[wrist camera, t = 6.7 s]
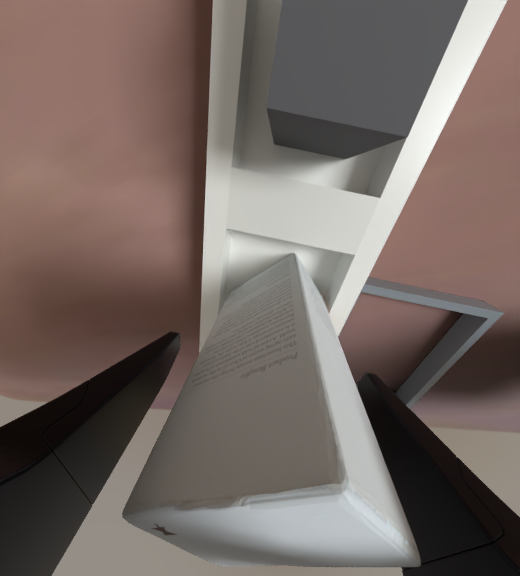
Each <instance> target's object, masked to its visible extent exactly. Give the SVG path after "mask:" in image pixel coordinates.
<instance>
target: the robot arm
mask: <svg viewBox="0 0 520 576" xmlns="http://www.w3.org/2000/svg"><path fill="white" fill-rule="evenodd" d="M179 349H180V334H179V333H176V332H169V333H167V334H166V335H164V336H162V337H161V338H159V339H157V340H156V341H154V342H152V343H150V344H149V345H147V346H145V347H144V348H142V349H140V350H139V351H137V352H135V353H133V354H132V355H130V356H128V357H127V358H125V359H123V360H122V361H120V362H118V363H116V364H115V365H113V366H111V367H110V368H108V369H106V370H105V371H103V372H101V373H99V374H98V375H96V376H94V377H93V378H91V379H90V381H89V380H87V381H86V382H84V383H82V384H81V385H79V386H77V387H75V388H74V389H72V390H70V391H68V392H67V393H65V394H63V395H61V396H60V397H58V398H56V399H54V400H52V401H50V402H48V403H46V404H45V405H43V406H41V407H39V408H37V409H35V410H33V411H31V412H29V413H27V414H25V415H23V416H21V417H19V418H17V419H15V420H13V421H11V422H9V423H8V424H6V425H4V426H2V427H0V576H52V574H53V572H54V570H55V569H56V567H57V565H58V564H59V562H60V560H61V558H62V557H63V555H64V553H65V552H66V550H67V548H68V546H69V545H70V543H71V541H72V540H73V538H74V536H75V535H76V533H77V531H78V529H79V528H80V526H81V524H82V522H83V521H84V519H85V517H86V516H87V514H88V512H89V511H90V509H91V507H92V504H93V503H94V502H95V500H96V498H97V497H98V495H99V493H100V492H101V490H102V488H103V486H104V485H105V483H106V481H107V480H108V478H109V476H110V474H111V473H112V471H113V469H114V468H115V466H116V464H117V463H118V461H119V459H120V457H121V456H122V454H123V452H124V451H125V449H126V447H127V445H128V444H129V442H130V440H131V439H132V437H133V435H134V434H135V432H136V430H137V428H138V427H139V425H140V423H141V421H142V420H143V418H144V416H145V415H146V413H147V411H148V410H149V408H150V406H151V404H152V403H153V401H154V399H155V398H156V396H157V394H158V393H159V391H160V389H161V387H162V386H163V384H164V382H165V380H166V378H167V376H168V374H169V372H170V369H171V367H172V365H173V363H174V361H175V358H176V356H177V354H178V352H179ZM358 392H359V395H360V397H361V400H362V403H363V405H364V408H365V411H366V413H367V416H368V418H369V421H370V424H371V426H372V429H373V432H374V434H375V437H376V440H377V442H378V445H379V448H380V450H381V453H382V456H383V458H384V461H385V463H386V466H387V469H388V471H389V474H390V476H391V479H392V482H393V484H394V487H395V490H396V492H397V495H398V498H399V500H400V503H401V505H402V508H403V511H404V513H405V516H406V518H407V521H408V524H409V526H410V529H411V532H412V534H413V537H414V540H415V542H416V545H417V548H418V552H419V555H420V559H421V566H420V567H401V568H402V569H403V570H402V572H403V576H520V517H519V516H518V515H516V513H514V512H513V511H512V510H511V509H510V508H509V507H508V506H507V505H506V504H505V503H504V502H503V501H502V500H501V499H499V497H498V496H496V495H495V494H494V493H493V492H492V491H491V490H490V489H489V488H488V487H487V486H486V485H485V484H484V483H483V482H482V481H481V480H480V479H479V478H478V477H477V476H476V475H475V474H474V473H473V472H471V470H470V469H469V468H468V467H467V466H466V465H465V464H464V463H463V462H462V461H461V460H460V459H459V458H457V457H456V455H455V454H454V453H453V452H452V451H451V450H450V449H449V448H448V447H447V446H446V445H445V444H444V443H443V442H442V441H441V440H440V439H439V438H438V437H437V436H436V435H435V434H434V433H433V432H432V431H431V430H430V429H429V428H428V427H427V426H426V425H425V424H424V423H423V422H422V421H421V420H420V419H419V418H418V417H417V416H416V415H415V414H414V413H413V412H412V411H411V410H410V409H409V408H408V407H407V406H406V405H405V404H404V403H403V402H402V401H401V400H400V399H399V398H398V397H397V396H396V395H395V394H394V393H393V392H392V391H391V390H390V389H389V388H388V387H387V386H386V385H385V383H384V382H383V381H382V380H381V379H380V378H379V377H378V376H377V375H375V374H372V373H365V374H364V375H363V376H362V378H361V379H360V381H359V382H358Z"/></svg>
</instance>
